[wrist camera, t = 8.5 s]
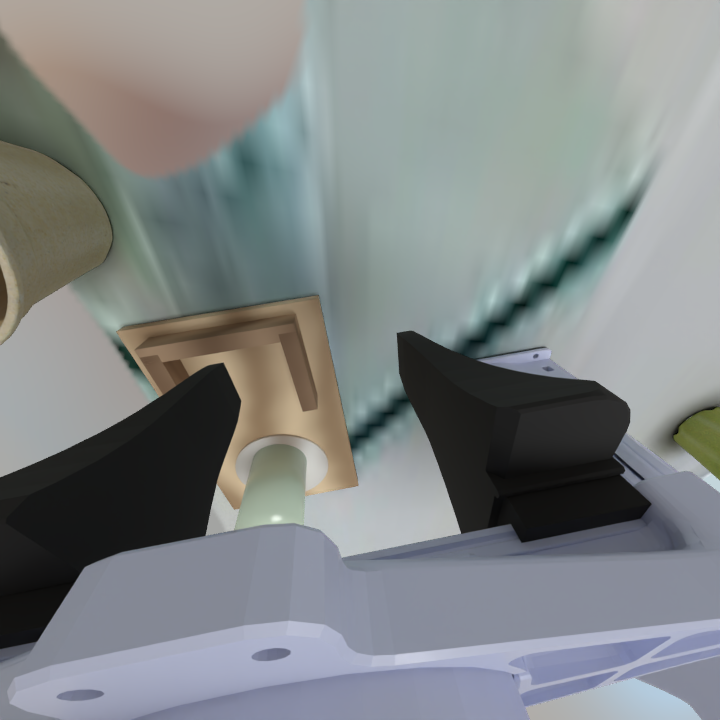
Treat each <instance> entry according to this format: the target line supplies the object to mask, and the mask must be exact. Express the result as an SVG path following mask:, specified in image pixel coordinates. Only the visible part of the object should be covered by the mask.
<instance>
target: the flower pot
mask: <svg viewBox="0 0 720 720" xmlns="http://www.w3.org/2000/svg"><path fill="white" fill-rule="evenodd" d="M112 239H113V237H112V230H111V225H110V222H109V219H108V216H107V214H106V211H105V209H104V207H103V206H102V204H101V202H100V201H99V200H98V198H97V197H96V195H95V194H94V193H93V191H92V190H91V189H90V188H89V187H88V186H87V184H86V183H85V182H84V181H83V180H82V179H80V178H79V177H78V176H76V175H75V174H74V173H72V172H71V171H69V170H68V169H66V168H65V167H63V166H62V165H61V164H59V163H58V162H56V161H55V160H53V159H51V158H49V157H48V156H46V155H44V154H42V153H39V152H37V151H34V150H31V149H28V148H24V147H20V146H17V145H13V144H10V143H7V142H4V141H0V345H2V344H3V343H4V342H5V341H6V340H7V339H8V338H10V336H11V335H12V334H13V333H14V331H15V330H16V328H17V327H18V325H19V323H20V321H21V319H22V318H23V317H24V316H25V315H26V314H27V313H28V311H29V310H30V308H31V307H32V305H34V304H35V303H37V302H39V301H40V300H42V299H43V298H45V297H47V296H48V295H50V294H52V293H53V292H55V291H57V290H58V289H60V288H61V287H63V286H65V285H66V284H68V283H70V282H71V281H73V280H75V279H76V278H78V277H80V276H81V275H83V274H85V273H86V272H88V271H90V270H91V269H93V268H95V267H97V266H99V265H100V264H101V263H103V262H104V260H105V258H106V256H107V254H108V251H109V249H110V246H111V243H112Z"/></svg>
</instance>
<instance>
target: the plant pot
mask: <svg viewBox="0 0 720 720" xmlns="http://www.w3.org/2000/svg"><path fill="white" fill-rule="evenodd" d="M674 440H675V442H676V443H678V444H679V445H680V446H681V447H682V448H683V449H685V450H686V451H687V452H688V453H689V454H690V455H692V456H693V457H694V458H695V459H696V460H697V461H698V462H700V463H701V464H702V465H703V466H704V467H705V468H706V469H708V470H709V471H710V472H711V473H712V474H713V475H714V476H716V477H717V478H718V479H719V480H720V407H716V408H715V409H714V410H704V411H701V412H699V413H696V414H695V415H693V416H692V417H690V418H689V419H688V420H686V421H684V422H683V423H682V424H681V425H680V426H679V432H678V434H676V435H674Z"/></svg>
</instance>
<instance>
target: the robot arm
mask: <svg viewBox="0 0 720 720" xmlns="http://www.w3.org/2000/svg"><path fill="white" fill-rule="evenodd" d="M397 343H398V360H399V374H400V377H401V380H402V383H403V386H404V389H405V392H406V394H407V396H408V398H409V400H410V402H411V404H412V406H413V408H414V410H415V412H416V414H417V416H418V418H419V420H420V422H421V424H422V426H423V428H424V430H425V432H426V434H427V436H428V439H429V441H430V443H431V446H432V449H433V452H434V454H435V457H436V460H437V462H438V465H439V468H440V471H441V474H442V477H443V479H444V482H445V485H446V488H447V491H448V494H449V497H450V500H451V503H452V506H453V509H454V512H455V515H456V518H457V521H458V525H459V528H460V531H461V534H458V535H453V536H448V537H443V538H438V539H433V540H428V541H423V542H418V543H413V544H408V545H403V546H398V547H393V548H388V549H383V550H378V551H373V552H368V553H363V554H358V555H353V556H348V557H343V558H341V555H340V552H339V549H338V547H337V546H336V545H335V544H334V543H333V542H332V541H331V540H330V539H329V538H328V537H327V536H326V535H325V534H324V533H323V532H322V531H321V530H319V529H315V528H311V527H308V526H304V525H300V524H296V523H286V524H266V525H259V526H254V527H249V528H244V529H239V530H234V531H229V532H223V533H218V534H213V535H208V536H206V530H207V525H208V520H209V515H210V510H211V505H212V501H213V497H214V493H215V488H216V484H217V480H218V477H219V474H220V471H221V468H222V465H223V462H224V459H225V457H226V454H227V451H228V448H229V446H230V443H231V440H232V437H233V434H234V431H235V429H236V426H237V423H238V418H239V413H240V407H241V399H240V397H239V394H238V392H237V390H236V388H235V386H234V384H233V382H232V379H231V377H230V375H229V373H228V371H227V369H226V366H225V364H224V362H223V363H217V364H212V365H208V366H206V367H204V368H202V369H200V370H199V371H197V372H196V373H194V374H193V375H191V376H190V377H188V378H187V379H185V380H184V381H182V382H181V383H179V384H178V385H176V386H175V387H174V388H172V389H171V390H169V391H168V392H166V393H165V394H163V395H162V396H160V397H159V398H157V399H156V400H154V401H153V402H151V403H150V404H148V405H147V406H145V407H144V408H142V409H141V410H139V411H137V412H136V413H134V414H132V415H131V416H129V417H127V418H126V419H124V420H122V421H121V422H119V423H117V424H115V425H113V426H111V427H110V428H108V429H106V430H104V431H102V432H100V433H98V434H97V435H94V436H92V437H90V438H88V439H86V440H84V441H82V442H80V443H78V444H76V445H74V446H72V447H70V448H68V449H66V450H64V451H62V452H60V453H57V454H55V455H53V456H50V457H48V458H46V459H44V460H41V461H39V462H37V463H35V464H32V465H30V466H28V467H25V468H22V469H20V470H18V471H15V472H13V473H10V474H8V475H5V476H3V477H0V720H530V718H529V716H528V713H527V711H526V707H529V706H533V705H537V704H541V703H544V702H548V701H551V700H555V699H559V698H562V697H566V696H570V695H573V694H577V693H581V692H584V691H588V690H591V689H595V688H599V687H603V686H606V685H610V684H614V683H617V682H621V681H624V680H628V679H632V678H636V679H639V680H641V681H643V682H645V683H648V684H650V685H652V686H654V687H657V688H659V689H661V690H664V691H666V692H668V693H669V694H672V695H674V696H676V697H678V698H680V699H681V700H683V701H685V702H686V703H688V704H689V705H690V706H691V707H692V708H693V709H694V710H695V712H696V713H697V714H698V715H699V716H700V718H701V719H702V720H720V493H719V492H718V491H717V490H715V489H714V488H713V487H711V486H710V485H709V484H707V483H706V482H705V481H703V480H702V479H701V478H699V477H698V476H697V475H695V474H694V473H692V472H689V471H683V472H678V471H677V470H676V469H674V468H673V467H672V466H671V465H669V464H668V463H667V462H665V461H664V460H663V459H661V458H660V457H659V456H657V455H656V454H655V453H653V452H652V451H651V450H649V449H648V448H646V447H645V446H644V445H642V444H641V443H640V442H638V441H637V440H636V439H634V438H633V437H631V436H630V435H628V434H627V433H626V431H627V429H628V426H629V424H630V409H629V407H628V405H627V403H626V402H625V401H623V400H622V399H620V398H619V397H618V396H616V395H615V394H613V393H612V392H610V391H609V390H607V389H606V388H605V387H603V386H602V385H600V384H599V383H597V382H596V381H590V380H579V379H577V378H576V377H574V376H573V375H572V374H570V373H569V372H567V371H566V370H565V369H563V368H562V367H560V366H559V365H558V364H556V363H555V362H553V361H552V360H551V359H550V357H551V352H552V351H551V350H550V349H548V348H541V349H535V350H530V351H524V352H518V353H513V354H507V355H501V356H496V357H490V358H484V359H478V360H475V359H471V358H469V357H466V356H463V355H461V354H459V353H456V352H454V351H452V350H449V349H447V348H445V347H443V346H441V345H439V344H437V343H435V342H433V341H431V340H429V339H427V338H425V337H424V336H422V335H420V334H418V333H416V332H414V331H406V332H400V333H397Z"/></svg>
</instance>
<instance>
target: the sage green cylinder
mask: <svg viewBox="0 0 720 720" xmlns="http://www.w3.org/2000/svg"><path fill="white" fill-rule="evenodd" d="M306 470H307V459H306V456H305V455H304V453H303V452H302V451H301V450H299V449H298V448H296V447H293V446H290V445H285V444H274V445H269V446H266V447H264V448H262V449H260V450H259V451H257V453H256V454H255V455H254V457H253V460H252V464H251V467H250V471H249V475H248V479H247V483H246V487H245V490H244V494H243V498H242V502H241V506H240V510H239V513H238V517H237V521H236V525H235V529H234V530H239V529H244V528H249V527H254V526H259V525H266V524H286V523H296V524H300V525H304V508H305V489H306Z"/></svg>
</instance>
